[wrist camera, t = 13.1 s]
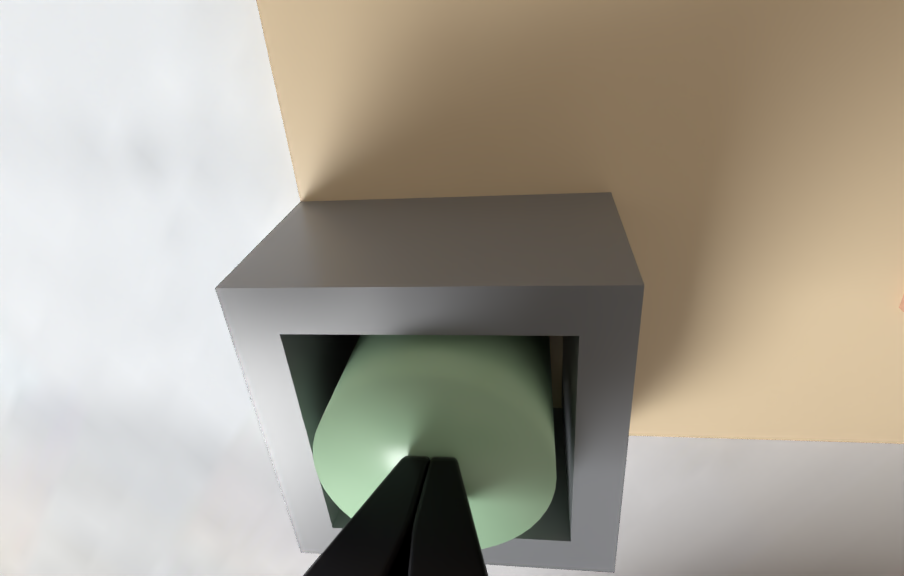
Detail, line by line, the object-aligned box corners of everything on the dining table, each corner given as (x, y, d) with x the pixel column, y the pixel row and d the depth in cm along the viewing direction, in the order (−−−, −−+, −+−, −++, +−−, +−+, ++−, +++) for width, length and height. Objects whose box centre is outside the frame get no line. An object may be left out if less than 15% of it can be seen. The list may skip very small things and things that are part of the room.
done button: (548, 414, 12) (554, 558, 9) (381, 409, 13) (336, 545, 10) (550, 260, 10) (559, 377, 7) (355, 262, 11) (288, 373, 8)
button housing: (595, 434, 13) (614, 572, 10) (350, 427, 14) (301, 552, 11) (610, 192, 10) (643, 284, 7) (300, 201, 11) (214, 288, 8)
